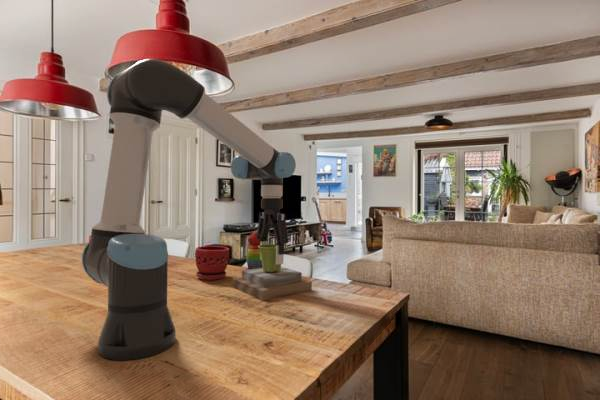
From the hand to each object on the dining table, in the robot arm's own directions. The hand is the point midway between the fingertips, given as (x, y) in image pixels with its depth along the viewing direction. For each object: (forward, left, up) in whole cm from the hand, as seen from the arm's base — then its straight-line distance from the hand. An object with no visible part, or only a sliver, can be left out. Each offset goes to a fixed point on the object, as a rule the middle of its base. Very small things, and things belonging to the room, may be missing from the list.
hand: (271, 261), depth 122 cm
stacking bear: (+24, -8, -10) cm, 27 cm away
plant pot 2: (0, 0, -3) cm, 3 cm away
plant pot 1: (+28, +10, -10) cm, 31 cm away
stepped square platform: (0, 0, -9) cm, 9 cm away
